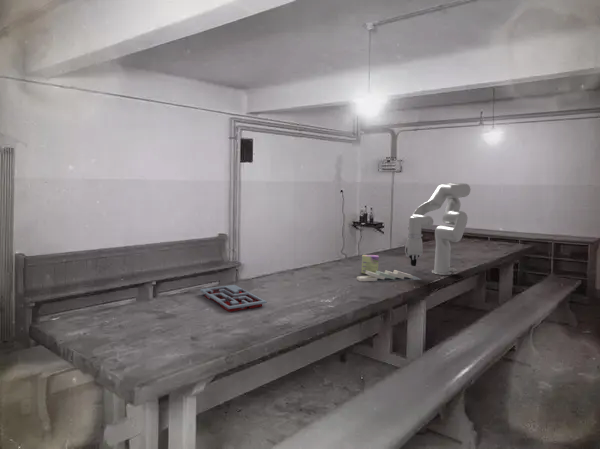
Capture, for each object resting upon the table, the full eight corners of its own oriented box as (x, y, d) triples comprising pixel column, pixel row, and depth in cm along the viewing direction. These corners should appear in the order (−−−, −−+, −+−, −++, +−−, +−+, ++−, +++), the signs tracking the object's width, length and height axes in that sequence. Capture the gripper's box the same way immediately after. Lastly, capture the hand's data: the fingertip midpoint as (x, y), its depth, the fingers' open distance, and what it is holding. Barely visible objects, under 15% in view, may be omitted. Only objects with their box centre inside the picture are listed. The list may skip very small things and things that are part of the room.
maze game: (266, 307, 221) (266, 301, 220) (229, 314, 210) (229, 307, 209) (234, 290, 250) (234, 284, 249) (200, 295, 239) (200, 289, 238)
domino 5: (408, 274, 287) (394, 269, 284) (413, 276, 282) (398, 271, 279) (407, 276, 287) (393, 272, 284) (412, 278, 282) (397, 274, 279)
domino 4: (400, 274, 285) (385, 270, 282) (404, 276, 281) (389, 271, 277) (399, 277, 285) (384, 272, 282) (403, 279, 281) (388, 274, 277)
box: (377, 272, 299) (378, 255, 297) (378, 275, 293) (378, 256, 292) (361, 272, 300) (362, 254, 298) (361, 274, 294) (362, 256, 293)
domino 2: (381, 275, 282) (365, 270, 278) (385, 276, 277) (369, 272, 273) (380, 277, 282) (364, 273, 278) (384, 279, 277) (368, 275, 273)
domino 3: (391, 275, 284) (376, 270, 280) (395, 276, 279) (380, 272, 275) (390, 277, 284) (375, 273, 280) (394, 279, 279) (379, 275, 275)
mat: (413, 276, 291) (413, 275, 291) (421, 280, 282) (422, 279, 282) (367, 278, 282) (367, 277, 282) (374, 282, 272) (374, 281, 272)
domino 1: (373, 275, 280) (356, 276, 277) (377, 277, 275) (360, 278, 272) (373, 278, 280) (356, 279, 277) (377, 280, 275) (360, 281, 272)
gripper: (422, 234, 288) (420, 263, 290) (400, 235, 284) (399, 265, 286) (428, 236, 281) (427, 266, 283) (406, 237, 276) (405, 267, 279)
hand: (413, 265), depth 285 cm, fingers closed
